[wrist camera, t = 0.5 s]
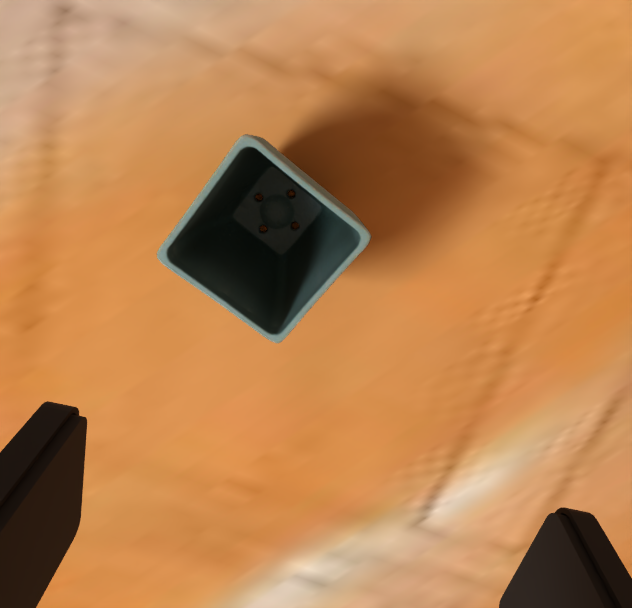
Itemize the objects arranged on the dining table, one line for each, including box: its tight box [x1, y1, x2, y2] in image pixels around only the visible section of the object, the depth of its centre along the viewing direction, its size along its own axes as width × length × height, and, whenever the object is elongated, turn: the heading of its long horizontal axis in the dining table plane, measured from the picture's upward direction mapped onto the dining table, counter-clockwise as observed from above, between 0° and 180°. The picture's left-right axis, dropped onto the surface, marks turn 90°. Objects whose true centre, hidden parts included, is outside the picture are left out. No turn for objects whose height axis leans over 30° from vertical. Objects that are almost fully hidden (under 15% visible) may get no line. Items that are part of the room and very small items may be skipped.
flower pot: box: [157, 134, 371, 343], centre depth 33 cm, size 9×9×9 cm
